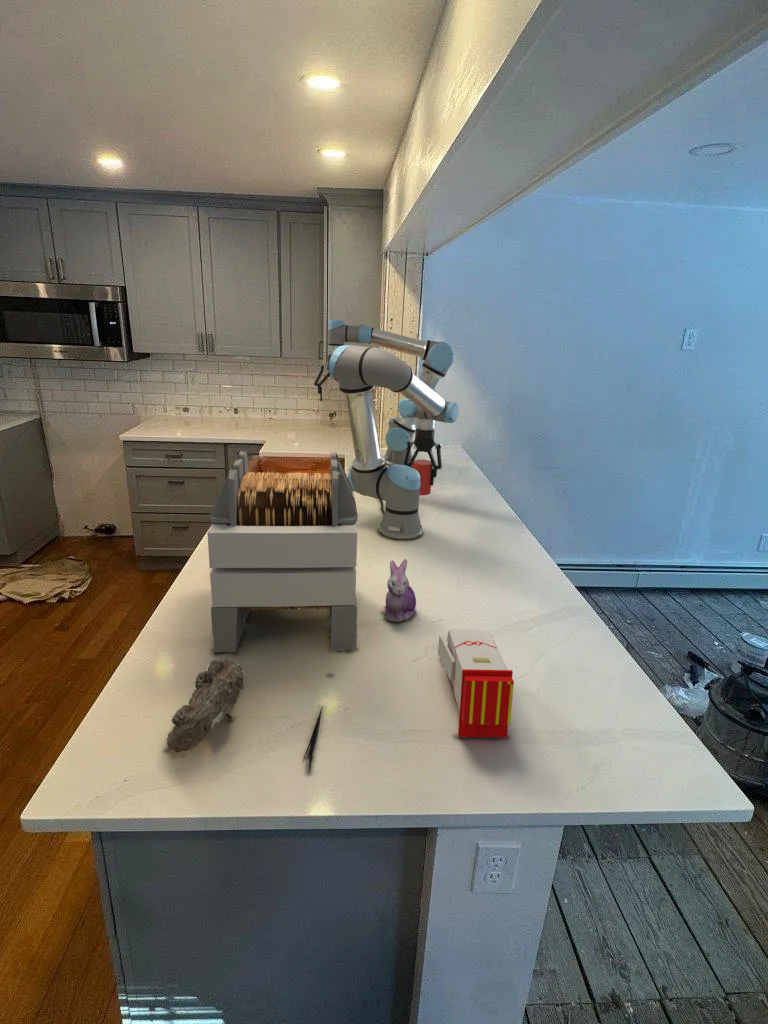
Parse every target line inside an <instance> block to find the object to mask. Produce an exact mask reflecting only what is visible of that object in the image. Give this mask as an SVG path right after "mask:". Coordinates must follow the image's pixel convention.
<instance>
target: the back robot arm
mask: <svg viewBox="0 0 768 1024" xmlns="http://www.w3.org/2000/svg"><path fill="white" fill-rule="evenodd" d="M327 327H328V328H327V354H328V356H327V365H323V364H322V365H321V366H320V370H319V373H318V374H317V377H316V378H315V381H314V382H313V385H314V386H315V387H317V394H318V395H319V396H320V397H319V402H323V386H322V385H324V383H325V382H326V381H327V379H329V377H331V376H330V373H329V362H330V358H331V357H332V354H333V352H334V351H335V350H336V349H337V348H338V347H340V346H342V345H345V343H351V344H352V343H354V344H363V345H364V344H368V345H372V346H377V347H379V348H383V349H388V350H391V351H394V352H395V351H396V352H399V353H403V354H406V355H411V356H413V357H418V358H420V359H421V360H422V361H423V363H422V364H421V368H422V372H421V373H420V375H419V377H418V378H419V379H420V380H421V381H423V382H424V383H425V384H426V385H427V386H429V387H430V388H431V389H435V388H436V387H437V385H438V383H439V381H440V380H441V379H445V377H446V375H447V373H448V371H449V370H450V368H451V367H452V366H453V364H454V361H455V351H454V349H453V347H452V346H451V345H450V344H449V343H447V342H445V341H435V340H429V339H426V340H421V339H417V338H413V337H409V336H406V335H402V334H398V333H395V332H390V331H388V330H382V329H380V328H377V327H376V328H375V327H371V326H369V325H368V326H367V325H366V324H359V325H352V324H351V325H349V324H348V325H347V324H346V321H345V320H342V319H341V320H340V319H330V320H329V321H328V326H327ZM326 370H327V371H328V372H327V373H326V374H325V376H324V377H323V378H322V375H323V374H324V371H326ZM321 378H322V379H321ZM320 379H321V380H320ZM387 425H388V428H387V429H388V430H387V431H386V434H385V437H384V439H385V443H386V446H387V449H386V451H385V454H383V457H384V458H385V464H386V466H388V467H389V466H391V465H404V460H405V456H406V452H407V448H408V447H407V442H408V441H412V438H413V436H414V435H415V434H416V429H417V427H416V417H412V418H404V417H403V416H401V415H400V414H399V415H398V416H396V417H391V418H389V420H388V424H387ZM412 457H413V454H412V451H411V452H410V456H409V460H408V462H410V461H411V459H412ZM405 466H406V465H405ZM412 466H413V464H412Z"/></svg>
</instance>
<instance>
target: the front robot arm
mask: <svg viewBox="0 0 768 1024" xmlns="http://www.w3.org/2000/svg"><path fill="white" fill-rule="evenodd" d="M328 372H329V373H330V376H329V377H330V378H331V379H332V380H333V381H335V382H336V383H338V387H339V392H341V393H342V394H344V396H345V401H346V407H347V413H348V419H349V425H350V432H351V439H352V444H353V450H354V455H355V456H354V457H355V458H353V460H352V463H351V465H350V466H349V468H348V473H347V477H348V480H349V482H350V484H351V486H352V488H353V490H354V492H355V493H357V494H359V495H360V496H361V495H362V496H364V497H370V498H373V499H377V500H379V502H380V511H381V513H382V514H383V515H382V519H381V522H379V526H378V533H379V534H380V535H381V536H382V537H385V538H387V539H389V540H395V541H410V540H415V539H418V538H420V537H421V536H422V535H423V525H422V524H421V518H420V515H419V507H420V506H419V505H420V496H421V495H420V486H421V483H420V474H419V472H418V471H417V470H415V469H414V468H413V465H412V464H413V462H414V461H415V460H416V458H417V456H418V455H419V453H420V452H421V453H422V452H424V453H427V455H428V457H429V461H431V463H432V466H433V469H432V473H431V487H433V485H434V483H435V478H437V476H438V470H441V469H442V467H443V461H442V452H441V449H442V443H436V442H435V434H436V433H435V432H436V430H435V429H436V422H441V423H444V424H446V423H447V424H453V423H455V422H456V421H457V420H458V418H459V415H460V407H459V405H458V403H456V402H453V401H451V400H450V401H447V400H446V399H444V398H443V397H442V396H441V395H439V394H438V390H436V389H435V388H434V389H431V388H430V387H429V386H427V385H426V384H425V383H424V382H423V381H421V380H420V379H419V377H418V376H417V375H416V374H414V371H413V368H412V367H411V366H410V365H409V364H408V363H406V362H405V361H404V360H403V359H401V358H400V357H398V356H397V355H396V354H393V352H391V351H389V350H387V349H385V348H382V347H375V346H374V347H372V346H363V345H362V346H361V345H354V344H344V345H342V346H340V347H338V348H337V349H336V350H335V351H334V352H333V354H332V357H331V358H330V362H329V371H328ZM375 387H378V388H383V389H387V390H389V391H391V392H393V393H395V394H400V395H402V396H403V397H404V398H402V399H400V400H399V402H398V405H397V409H398V413H399V416H400V415H401V416H403V417H404V418H412V417H416V424H415V426H416V431H415V433H414V435H415V436H414V440H411V441H408V442H407V447H408V448H407V452H406V456H405V460H404V465H391V466H389V465H388V466H387V465H386V464H385V458H384V455H382V454H381V452H380V446H379V437H378V430H377V424H376V415H375V408H374V400H373V394H372V391H373V390H374V389H375ZM414 446H415V448H416V449H415V451H414V453H413V454H412V459H411V461H410V462H408V460H409V456H410V452H411V453H412V447H414ZM433 448H435V450H436V459H435V456H434V453H433ZM436 461H437V462H436ZM405 465H406V466H405ZM384 502H385V504H384ZM384 505H385V507H384ZM384 508H385V509H384Z"/></svg>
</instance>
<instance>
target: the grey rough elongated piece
mask: <svg viewBox="0 0 768 1024" xmlns="http://www.w3.org/2000/svg"><path fill="white" fill-rule="evenodd" d="M243 670H244V669H243V667H242V665H240V664H237V662H236V661H235V660H234V659H232V658H231V659H227V658H226V659H224V660H223V661H222V660H217V659H212V660H211V661H210V663H209V665H208V666H207V671H201V672H199V673H198V674H197V675H196V676H195V680H194V684H195V685H194V687H195V689H194V690H193V693H192V694H191V697H190V698H189V700H188V704H184V705H182V706H181V707H180V709H177V710H176V711H175V713H174V715H173V716H172V718H171V723H172V724H173V727H172V730H171V731H170V732H168V734H167V738H166V741H167V742H166V745H167V749H168V750H169V751H173V752H174V753H176V754H178V753H182V752H188V751H189V752H192V751H193V750H195V748H196V747H197V746H199V744H200V743H201V742H203V741H204V740H205V739H206V738H207V737H208V736H209V735H210V734H211V733H212V732H214V730H215V729H217V727H218V726H219V724H220V722H221V721H222V720H223V719H224V718H225V716H226V717H227V719H229V720H233V717H232V715H230V714H229V710H230V709H231V708H234V706H235V704H236V703H237V702H238V699H239V697H240V695H241V693H242V691H243V690H245V689H244V688H245V675H244V671H243Z"/></svg>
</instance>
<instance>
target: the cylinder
mask: <svg viewBox="0 0 768 1024" xmlns="http://www.w3.org/2000/svg"><path fill="white" fill-rule="evenodd" d="M412 466H413V468H414V469H415V470H417V471H418V472H419V474H420V483H421V486H420V495H419V496H428V495H431V493H432V486H431V473H432V469H433V466H432V463H431V460H430V459H428V460H427V459H415V460H414V462H413V465H412Z"/></svg>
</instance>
